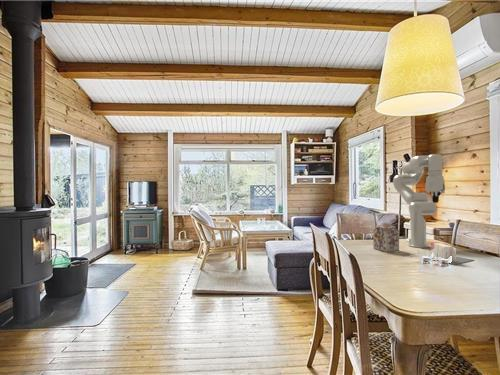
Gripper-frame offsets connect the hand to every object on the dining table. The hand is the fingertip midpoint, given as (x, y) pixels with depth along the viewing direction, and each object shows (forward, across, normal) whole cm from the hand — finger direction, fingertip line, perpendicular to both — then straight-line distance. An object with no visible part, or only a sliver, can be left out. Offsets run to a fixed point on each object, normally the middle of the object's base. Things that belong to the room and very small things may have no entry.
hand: (435, 202), depth 186 cm
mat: (+32, +15, -12) cm, 37 cm away
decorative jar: (+32, -22, -19) cm, 44 cm away
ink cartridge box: (+28, +6, -14) cm, 31 cm away
